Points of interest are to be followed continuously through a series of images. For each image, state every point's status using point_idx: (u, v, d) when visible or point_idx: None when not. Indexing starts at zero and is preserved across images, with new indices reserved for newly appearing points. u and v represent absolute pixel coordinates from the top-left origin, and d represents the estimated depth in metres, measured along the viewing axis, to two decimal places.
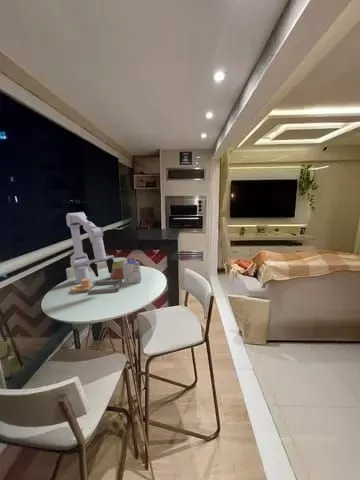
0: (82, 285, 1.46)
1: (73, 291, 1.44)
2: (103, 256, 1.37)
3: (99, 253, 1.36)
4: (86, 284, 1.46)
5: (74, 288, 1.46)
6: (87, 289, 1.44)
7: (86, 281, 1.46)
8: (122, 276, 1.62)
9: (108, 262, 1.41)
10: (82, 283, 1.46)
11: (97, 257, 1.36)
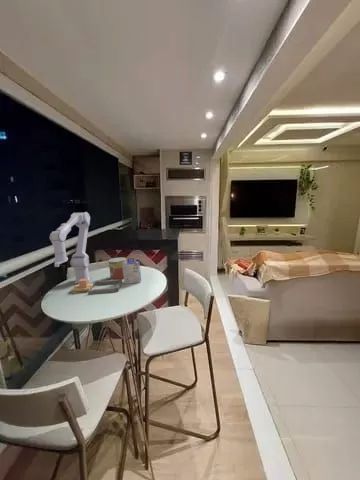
0: (80, 285, 1.46)
1: (73, 291, 1.44)
2: None
3: None
4: (84, 284, 1.46)
5: (74, 288, 1.46)
6: (87, 289, 1.44)
7: (84, 281, 1.46)
8: (122, 276, 1.62)
9: None
10: (80, 283, 1.46)
11: None
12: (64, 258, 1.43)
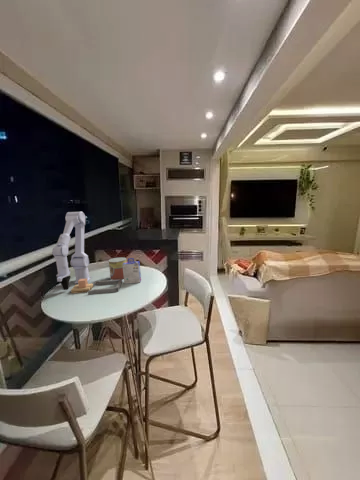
0: (79, 285, 1.46)
1: (73, 291, 1.44)
2: None
3: None
4: (83, 284, 1.46)
5: (74, 288, 1.46)
6: (87, 289, 1.44)
7: (83, 281, 1.46)
8: (122, 276, 1.62)
9: None
10: (79, 283, 1.46)
11: None
12: (66, 272, 1.45)
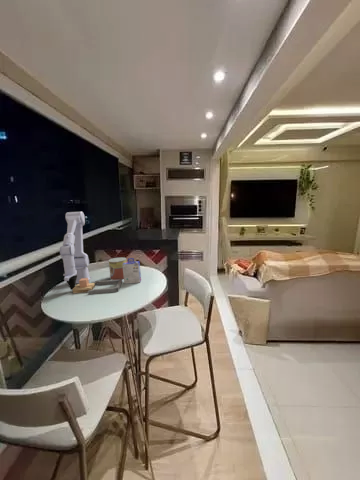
0: (80, 285, 1.46)
1: (74, 290, 1.44)
2: (65, 273, 1.45)
3: None
4: (85, 284, 1.46)
5: (75, 287, 1.46)
6: (88, 288, 1.44)
7: (85, 281, 1.46)
8: (122, 276, 1.62)
9: None
10: (80, 283, 1.46)
11: None
12: (73, 272, 1.45)
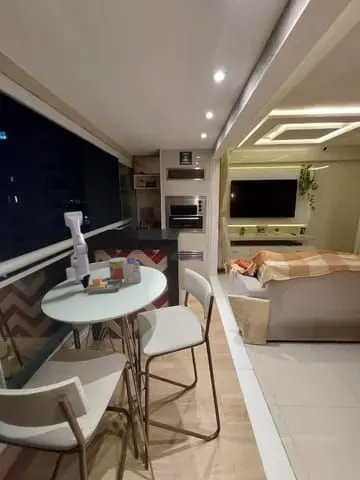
0: (94, 283, 1.46)
1: (88, 289, 1.45)
2: (78, 271, 1.46)
3: None
4: (98, 282, 1.46)
5: (89, 286, 1.46)
6: (102, 287, 1.45)
7: (98, 279, 1.46)
8: (122, 276, 1.62)
9: None
10: (94, 281, 1.46)
11: None
12: (87, 271, 1.45)
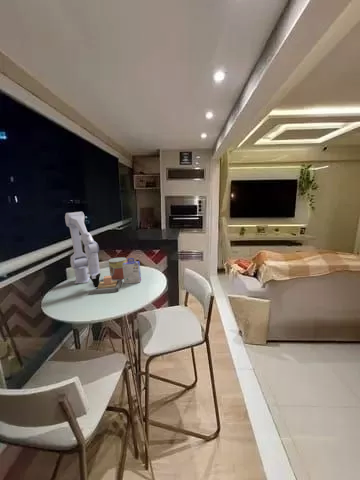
0: (105, 282, 1.47)
1: (100, 288, 1.45)
2: (89, 271, 1.46)
3: None
4: (109, 281, 1.47)
5: (100, 285, 1.47)
6: (114, 286, 1.46)
7: (109, 278, 1.47)
8: (122, 276, 1.62)
9: None
10: (105, 280, 1.47)
11: None
12: (98, 270, 1.46)
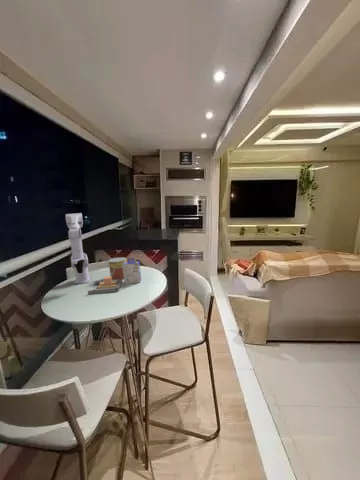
0: (105, 283, 1.47)
1: (100, 288, 1.45)
2: (72, 256, 1.45)
3: None
4: (109, 282, 1.47)
5: (100, 286, 1.47)
6: (114, 286, 1.46)
7: (109, 279, 1.47)
8: (122, 276, 1.62)
9: None
10: (105, 281, 1.47)
11: None
12: (81, 255, 1.45)
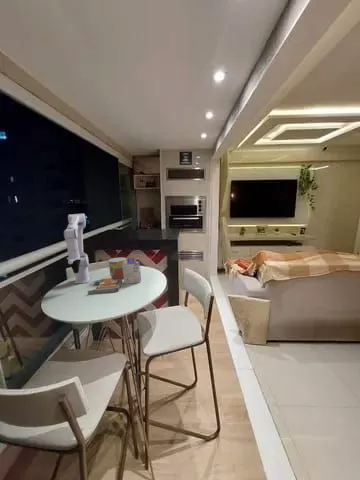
0: (105, 283, 1.47)
1: None
2: None
3: None
4: (109, 282, 1.47)
5: (100, 286, 1.47)
6: (114, 286, 1.46)
7: (109, 279, 1.47)
8: (122, 276, 1.62)
9: None
10: (105, 281, 1.47)
11: None
12: (77, 255, 1.45)
